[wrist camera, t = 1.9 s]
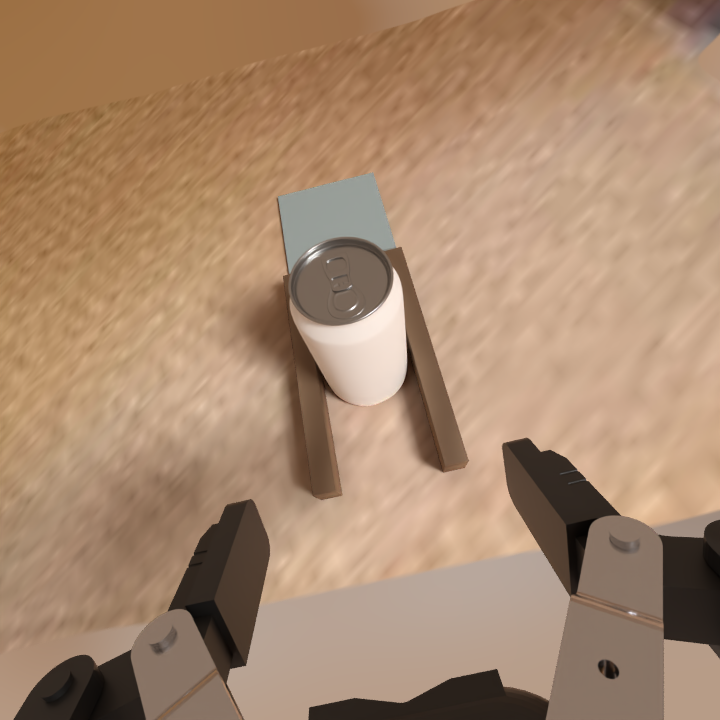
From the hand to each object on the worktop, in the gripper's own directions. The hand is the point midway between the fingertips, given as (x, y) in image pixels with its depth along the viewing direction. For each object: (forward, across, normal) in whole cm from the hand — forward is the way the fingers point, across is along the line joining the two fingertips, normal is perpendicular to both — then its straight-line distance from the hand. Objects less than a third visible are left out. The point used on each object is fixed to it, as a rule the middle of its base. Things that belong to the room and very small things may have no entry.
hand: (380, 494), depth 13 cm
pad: (+30, 0, -8) cm, 32 cm away
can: (+19, 0, +3) cm, 20 cm away
